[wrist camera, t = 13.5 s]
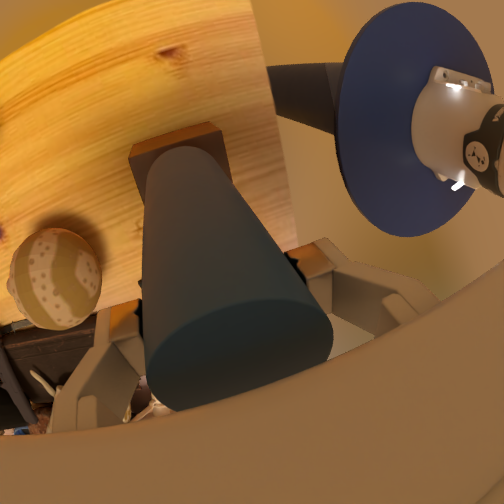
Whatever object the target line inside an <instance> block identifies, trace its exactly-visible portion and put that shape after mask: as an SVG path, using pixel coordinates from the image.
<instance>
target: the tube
mask: <svg viewBox="0 0 504 504" xmlns="http://www.w3.org/2000/svg"><path fill="white" fill-rule="evenodd" d="M142 316H143V341H144V357H145V371H146V379H147V384H148V386H149V389H150V391H151V392H152V394H153V395H154V397H155V398H156V399H157V400H158V401H159V402H160V403H161V404H163V405H164V406H166V407H167V408H169V409H171V410H173V411H176V412H179V411H183V410H187V409H190V408H194V407H198V406H201V405H205V404H208V403H212V402H215V401H219V400H222V399H225V398H229V397H232V396H235V395H238V394H241V393H244V392H247V391H250V390H253V389H256V388H259V387H262V386H265V385H267V384H270V383H273V382H276V381H278V380H281V379H284V378H286V377H289V376H291V375H294V374H297V373H299V372H302V371H304V370H306V369H309V368H311V367H314V366H316V365H318V364H321V363H323V362H325V361H327V359H328V357H329V355H330V352H331V349H332V345H333V328H332V325H331V322H330V320H329V318H328V317H327V315H326V314H325V312H324V311H323V309H322V308H321V307H320V305H319V304H318V302H317V301H316V299H315V298H314V296H313V295H312V294H311V292H310V291H309V289H308V288H307V286H306V285H305V284H304V282H303V281H302V279H301V278H300V276H299V275H298V274H297V272H296V271H295V269H294V268H293V266H292V265H291V264H290V262H289V261H288V259H287V258H286V257H285V255H284V254H283V252H282V251H281V250H280V248H279V247H278V245H277V244H276V243H275V241H274V240H273V238H272V237H271V236H270V234H269V233H268V231H267V230H266V229H265V227H264V226H263V224H262V223H261V222H260V220H259V219H258V218H257V216H256V215H255V213H254V212H253V211H252V209H251V208H250V207H249V205H248V204H247V202H246V201H245V200H244V198H243V197H242V196H241V194H240V193H239V192H238V190H237V189H236V187H235V186H234V185H233V183H232V182H231V181H230V179H229V178H228V177H227V175H226V174H225V173H224V171H223V170H222V169H221V167H220V166H219V165H218V163H217V162H216V161H215V159H214V158H213V157H212V156H211V155H210V154H209V153H207V152H206V151H204V150H202V149H199V148H196V147H191V146H182V147H176V148H173V149H170V150H168V151H166V152H164V153H163V154H162V155H160V156H159V157H158V158H157V159H156V160H155V161H154V163H153V164H152V166H151V168H150V170H149V172H148V175H147V181H146V192H145V206H144V223H143V247H142Z"/></svg>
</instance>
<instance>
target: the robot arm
mask: <svg viewBox="0 0 504 504" xmlns="http://www.w3.org/2000/svg"><path fill="white" fill-rule="evenodd" d="M490 91H491V84H490V83H488V82H484V81H483V80H482V79H479V78H476V77H473V76H470V75H467V74H464V73H460V72H457V71H454V70H450V69H446V68H443V67H439V66H434V67H433V68H432V70H431V73H430V76H429V80H428V83H427V84H426V86H425V87H424V89H423V90H422V91H421V93H420V94H419V96H418V98H417V101H416V103H415V106H414V110H413V115H412V122H411V135H412V142H413V147H414V150H415V153H416V155H417V157H418V158H419V160H420V161H421V162H422V163H423V164H424V165H425V166H426V167H428V168H430V169H431V170H433V172H434V174H435V176H436V178H437V179H438V180H441V181H446V180H447V179H448V178H450V179H452V180H455V181H457V182H458V183H457V184H455V185H454V186H453V187H452V189H453V190H457V189H458V188H459V187H461V186H462V185H463V184H464V185H466V186H469V187H471V188H473V189H478V188H480V187H484V188H486V189H488V190H489V191H490V192H491V193H493V194H495V195H498V196H500V197H502V198H504V101H503V99H502V98H501V97H500V96H497V95H494V94H491V92H490ZM284 255H285V257H286V258H287V259H288V261H289V262H290V264H291V265H292V266H293V268H294V269H295V271H296V272H297V274H298V275H299V276H300V278H301V279H302V281H303V282H304V284H305V285H306V286H307V288H308V289H309V291H310V292H311V294H312V295H313V296H314V298H315V299H316V301H317V302H318V304H319V305H320V307H321V308H322V309H323V311H324V312H325V314H326V315H327V314H329V313H333V314H334V315H336V316H338V317H340V318H342V319H344V320H346V321H348V322H350V323H352V324H354V325H356V326H358V327H360V328H362V329H363V330H366V331H367V332H369V333H372V334H373V335H375V338H374V339H373V340H371V341H369V342H367V343H365V344H363V345H360V346H358V347H356V348H354V349H352V350H350V351H348V352H346V353H344V354H341V355H339V356H337V357H335V358H333V359H330V360H328V361H325V362H323V363H321V364H318V365H316V366H314V367H311V368H309V369H306V370H304V371H302V372H299V373H297V374H294V375H291V376H289V377H286V378H284V379H281V380H278V381H276V382H273V383H270V384H267V385H265V386H262V387H259V388H256V389H253V390H250V391H247V392H244V393H241V394H238V395H235V396H232V397H229V398H225V399H222V400H219V401H215V402H212V403H208V404H205V405H201V406H198V407H194V408H190V409H187V410H183V411H179V412H175V413H171V414H166V415H162V416H158V417H153V418H149V419H144V420H139V421H134V422H129V423H124V422H123V418H124V416H125V413H126V411H127V408H128V406H129V404H130V401H131V399H132V396H133V394H134V392H135V389H136V387H137V384H138V382H139V380H140V376H143V375H146V371H145V357H144V341H143V316H142V300H141V299H140V298H139V299H136V300H132V301H129V302H125V303H122V304H118V305H115V306H112V307H108V308H105V309H102V310H99V312H98V313H97V320H96V329H95V338H94V347H92V348H90V349H89V350H88V351H87V353H86V354H85V356H84V357H83V359H82V360H81V361H80V363H79V364H78V366H77V367H76V369H75V370H74V372H73V373H72V375H71V376H70V378H69V379H68V381H67V382H66V383H65V385H64V387H63V388H62V390H61V391H60V393H59V394H58V396H57V397H56V399H55V400H54V408H53V421H52V433H47V434H32V435H0V504H504V260H502V261H501V262H500V263H498V264H497V265H495V266H494V267H493V268H491V269H490V270H489V271H487V272H486V273H484V274H483V275H481V276H480V277H479V278H477V279H476V280H474V281H473V282H471V283H470V284H468V285H467V286H465V287H464V288H462V289H461V290H459V291H458V292H456V293H454V294H453V295H451V296H450V297H448V298H446V299H445V300H443V301H440V300H439V299H438V298H437V297H436V296H435V295H434V294H433V293H432V292H431V291H430V290H429V289H428V288H427V287H426V286H425V285H423V283H421V282H420V281H419V280H417V279H414V278H411V277H408V276H404V275H401V274H397V273H394V272H391V271H387V270H384V269H380V268H377V267H374V266H370V265H367V264H363V263H360V262H356V261H355V262H353V263H352V262H351V261H350V260H349V259H348V258H347V257H346V256H345V255H344V254H343V253H342V252H341V251H340V250H339V249H338V248H337V247H336V246H335V245H334V244H333V243H332V242H331V241H330V240H329V239H328V238H322V239H319V240H317V241H314V242H312V243H310V244H307V245H304V246H301V247H298V248H295V249H292V250H289V251H286V252H284Z"/></svg>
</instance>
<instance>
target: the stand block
mask: <svg viewBox="0 0 504 504" xmlns="http://www.w3.org/2000/svg"><path fill="white" fill-rule="evenodd" d="M182 146H191V147H196V148H199V149H202V150H204V151H206V152H207V153H209V154H210V155H211V156H212V157H213V158H214V159H215V161H216V162H217V163H218V165H219V166H220V167H221V169H222V170H223V171H224V173H225V174H226V175H227V177H228V178H229V179H230V181H231V182H232V183H233V181H232V177H231V172H230V168H229V163H228V158H227V154H226V149H225V145H224V140H223V135H222V131H221V130H220V129H219V128H218V127H216V126H215V125H213V124H212V123H211V122H205V123H201V124H197V125H194V126H190V127H187V128H183V129H180V130H176V131H173V132H170V133H166V134H163V135H160V136H157V137H154V138H151V139H148V140H145V141H142V142H139V143H136V144H133V146H132V149H131V152H130V155H129V157H128V160H129V164H130V167H131V170H132V173H133V175H134V178H135V181H136V184H137V187H138V190H139V193H140V196H141V198H142V201H143V204H144V206H145V192H146V181H147V175H148V172H149V170H150V168H151V166H152V164H153V163H154V161H155V160H156V159H157V158H158V157H159V156H160V155H162V154H163V153H164V152H166V151H168V150H170V149H173V148H176V147H182Z"/></svg>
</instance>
